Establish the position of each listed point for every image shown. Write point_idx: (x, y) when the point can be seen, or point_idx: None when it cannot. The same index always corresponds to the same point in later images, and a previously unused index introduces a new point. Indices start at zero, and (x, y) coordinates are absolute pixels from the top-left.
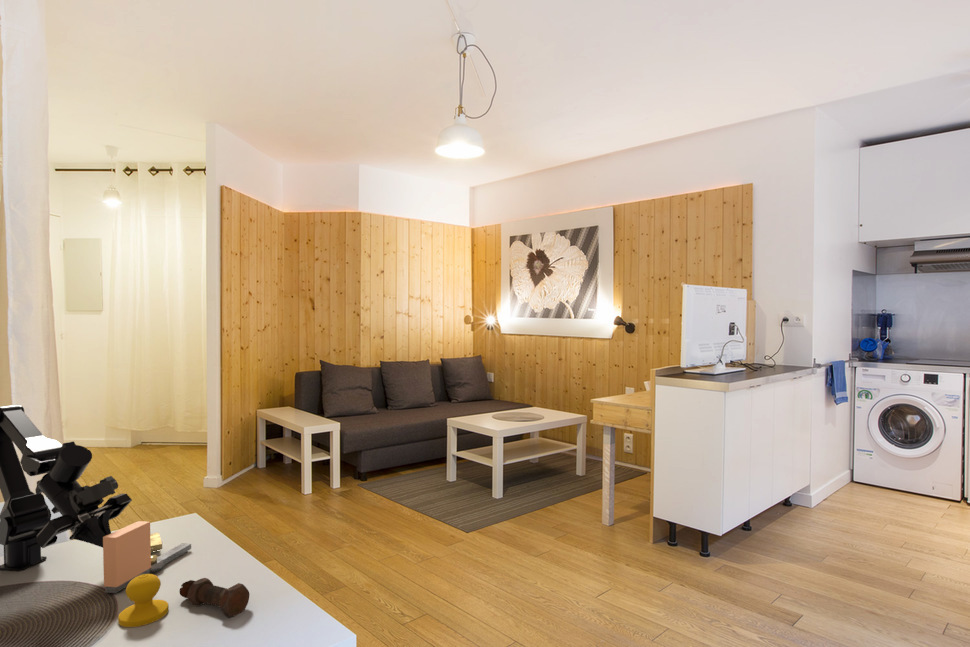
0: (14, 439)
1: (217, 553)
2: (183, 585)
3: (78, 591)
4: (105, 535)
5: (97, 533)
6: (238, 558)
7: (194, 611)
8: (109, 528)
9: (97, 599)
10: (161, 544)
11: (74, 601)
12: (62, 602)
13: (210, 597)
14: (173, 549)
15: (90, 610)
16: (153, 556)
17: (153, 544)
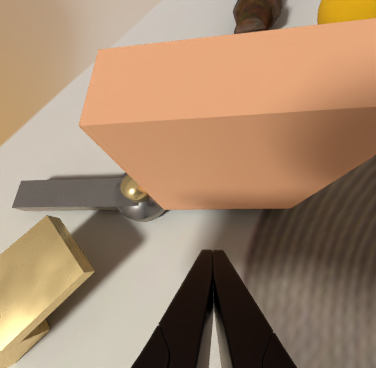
0: None
1: (61, 123)
2: (262, 23)
3: (288, 312)
4: (225, 307)
5: (293, 363)
6: (90, 76)
7: (282, 19)
8: (152, 343)
9: (306, 210)
10: (50, 216)
11: (338, 265)
12: (357, 300)
13: None
14: (53, 200)
15: (353, 180)
16: (130, 183)
17: (48, 241)
